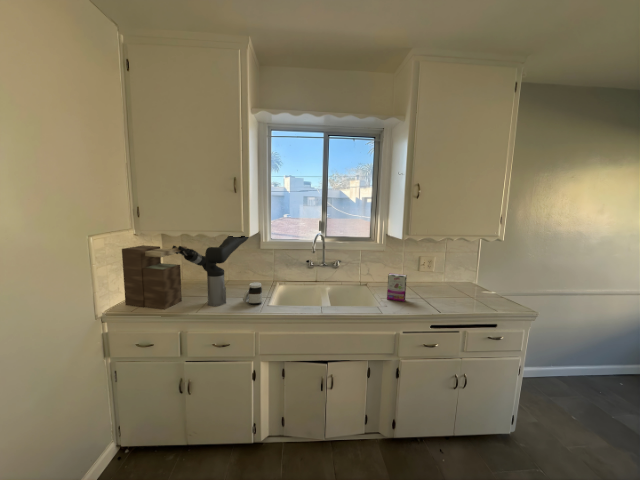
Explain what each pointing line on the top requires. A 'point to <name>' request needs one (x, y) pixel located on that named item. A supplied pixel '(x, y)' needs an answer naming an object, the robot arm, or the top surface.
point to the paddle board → (162, 252)
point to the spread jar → (254, 294)
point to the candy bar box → (396, 287)
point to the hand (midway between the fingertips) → (176, 247)
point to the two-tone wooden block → (150, 279)
